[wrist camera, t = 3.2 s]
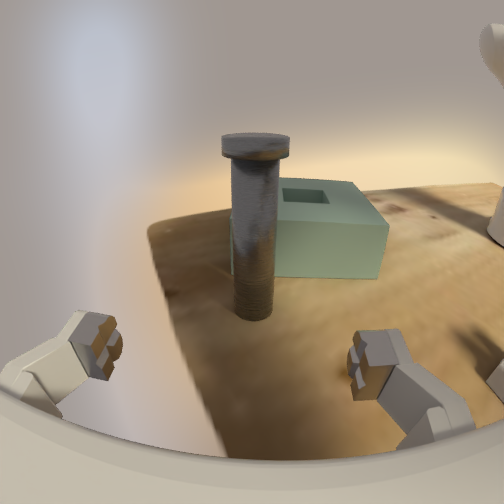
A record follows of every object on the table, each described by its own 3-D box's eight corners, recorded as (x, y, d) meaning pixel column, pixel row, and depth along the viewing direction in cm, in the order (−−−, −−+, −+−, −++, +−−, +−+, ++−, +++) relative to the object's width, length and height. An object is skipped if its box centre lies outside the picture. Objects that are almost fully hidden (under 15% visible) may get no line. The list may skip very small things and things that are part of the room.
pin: (279, 293, 27) (287, 133, 20) (279, 326, 23) (291, 141, 16) (230, 291, 27) (226, 132, 20) (224, 324, 23) (215, 140, 16)
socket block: (347, 221, 42) (352, 181, 39) (377, 279, 29) (389, 225, 26) (244, 217, 43) (243, 176, 40) (231, 274, 30) (229, 218, 27)
